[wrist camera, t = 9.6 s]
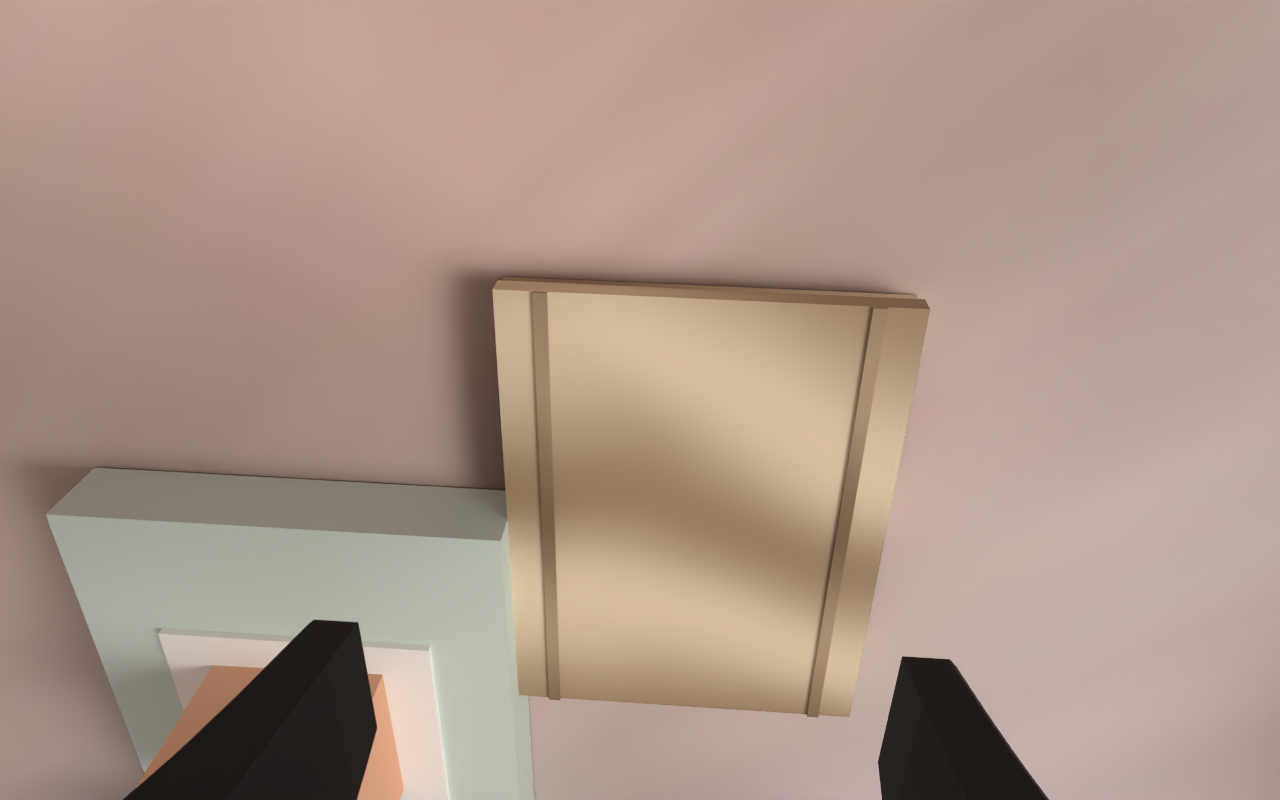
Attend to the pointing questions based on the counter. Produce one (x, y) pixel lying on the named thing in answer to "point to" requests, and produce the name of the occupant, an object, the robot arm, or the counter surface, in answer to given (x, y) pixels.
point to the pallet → (699, 486)
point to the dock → (308, 604)
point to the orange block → (228, 681)
